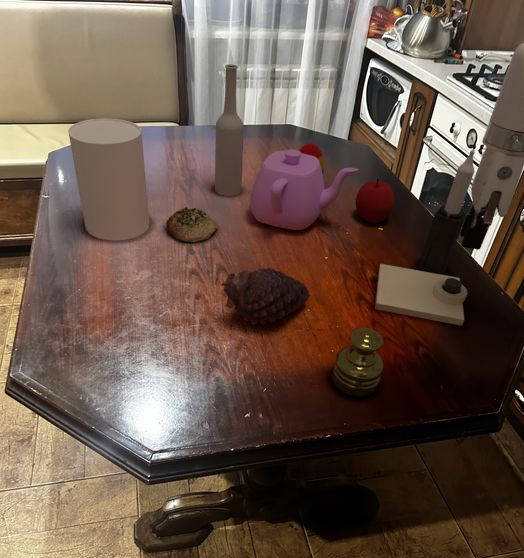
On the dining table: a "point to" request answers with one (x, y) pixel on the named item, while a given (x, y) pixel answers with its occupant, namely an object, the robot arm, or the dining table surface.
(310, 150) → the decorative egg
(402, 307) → the white base plate
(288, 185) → the teapot
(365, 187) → the apple
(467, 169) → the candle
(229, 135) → the bottle
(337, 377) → the brass cabinet knob
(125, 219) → the canister
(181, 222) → the bread roll
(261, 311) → the pine cone
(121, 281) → the dining table surface
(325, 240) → the dining table surface
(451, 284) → the dark round knob center
